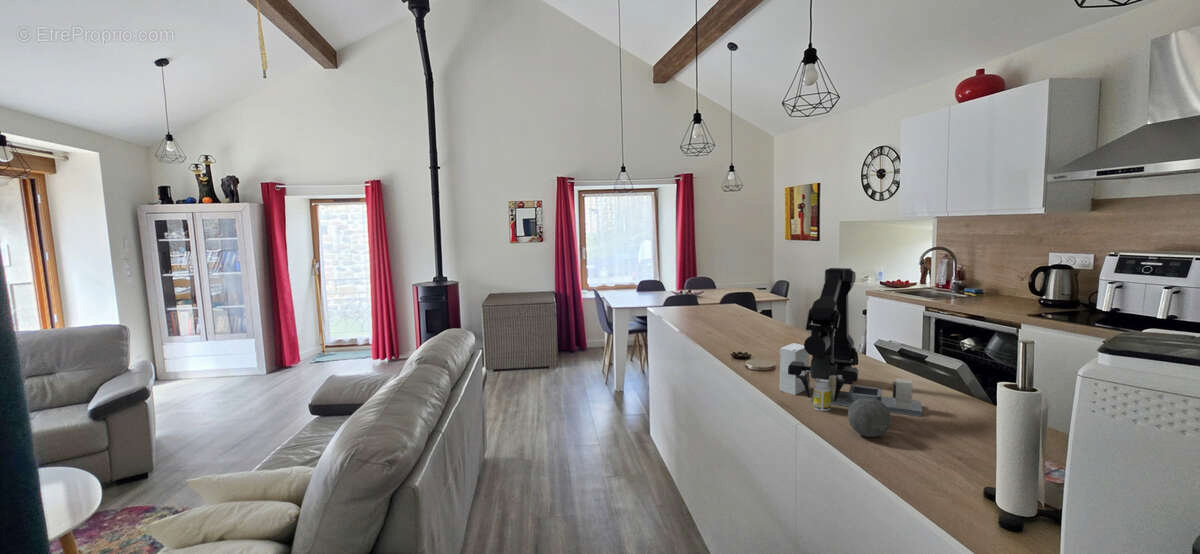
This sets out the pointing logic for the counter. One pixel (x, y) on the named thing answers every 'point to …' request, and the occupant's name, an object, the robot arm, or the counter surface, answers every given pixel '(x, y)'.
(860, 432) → the decorative ball
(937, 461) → the counter surface
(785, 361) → the skincare box
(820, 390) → the supplement bottle
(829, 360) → the robot arm
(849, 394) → the rail
